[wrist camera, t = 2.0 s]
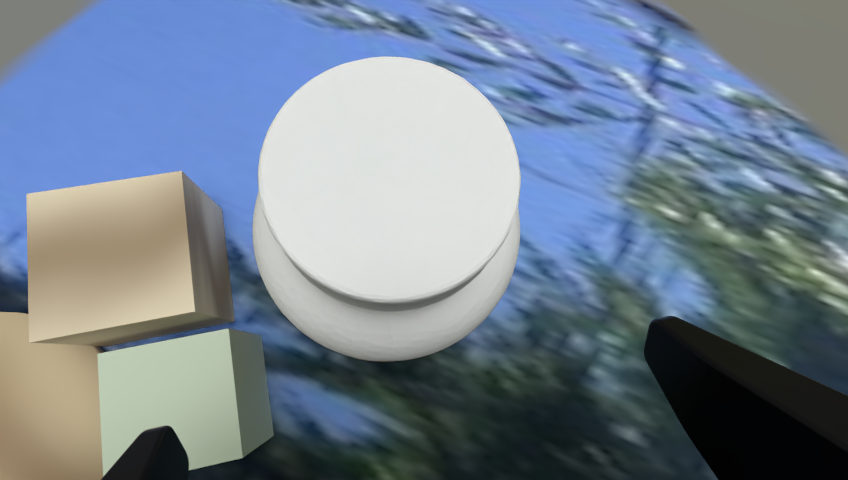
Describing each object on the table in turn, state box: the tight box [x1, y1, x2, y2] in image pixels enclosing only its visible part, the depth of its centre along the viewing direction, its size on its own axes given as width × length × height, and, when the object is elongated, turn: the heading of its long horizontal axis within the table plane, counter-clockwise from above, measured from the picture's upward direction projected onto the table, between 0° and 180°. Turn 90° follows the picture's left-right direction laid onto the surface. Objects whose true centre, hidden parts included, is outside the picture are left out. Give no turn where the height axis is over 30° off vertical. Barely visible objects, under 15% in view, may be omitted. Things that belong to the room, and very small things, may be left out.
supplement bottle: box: [253, 57, 521, 362], centre depth 14 cm, size 7×7×13 cm
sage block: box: [97, 328, 274, 476], centre depth 17 cm, size 4×4×4 cm
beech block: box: [27, 171, 235, 346], centre depth 18 cm, size 5×5×4 cm
